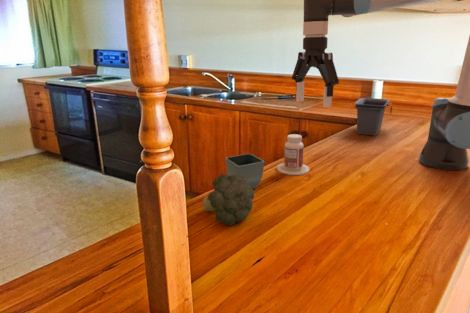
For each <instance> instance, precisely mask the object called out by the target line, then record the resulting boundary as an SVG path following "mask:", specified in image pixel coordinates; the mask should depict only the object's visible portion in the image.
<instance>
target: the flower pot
mask: <svg viewBox="0 0 470 313" xmlns="http://www.w3.org/2000/svg"><path fill="white" fill-rule="evenodd" d="M225 165H226V171H227V174H228V175H229V176H230V175H239V176H242V177H244V178H245V180H246V182H248V183H249V185H250V187H251V188H252V189H253V190H254V189H256V188H257V187H258V186H259V185H260V182H261V181H262V178H263V175H264V174H263V173H264V167H265V160H263V159H261V158H259V157H257V156H256V155H254V154H253V153H244V154H239V155H234V156H226V157H225Z"/></svg>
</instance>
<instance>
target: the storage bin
mask: <svg viewBox="0 0 470 313" xmlns="http://www.w3.org/2000/svg"><path fill="white" fill-rule="evenodd" d="M390 101H391V100H390V99H388V98H375V97H361V98H358V100H356V101H355V102H354V104H355V105H354V109H356V110H357V111H356V133H357V134H358V135H365V136H377V134H378V133H379V132H380V130H381V128H382V125H383V119H384V115H385V111H386V109H387V108H388V109H390V111H389V115H392V114H393V105H392V104H389V103H390Z"/></svg>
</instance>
